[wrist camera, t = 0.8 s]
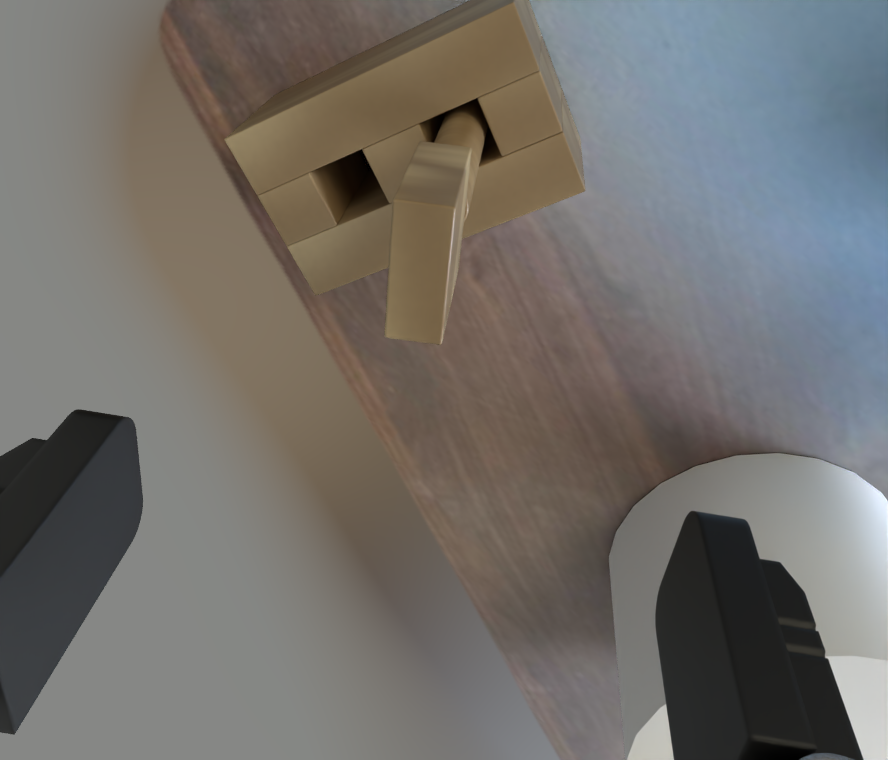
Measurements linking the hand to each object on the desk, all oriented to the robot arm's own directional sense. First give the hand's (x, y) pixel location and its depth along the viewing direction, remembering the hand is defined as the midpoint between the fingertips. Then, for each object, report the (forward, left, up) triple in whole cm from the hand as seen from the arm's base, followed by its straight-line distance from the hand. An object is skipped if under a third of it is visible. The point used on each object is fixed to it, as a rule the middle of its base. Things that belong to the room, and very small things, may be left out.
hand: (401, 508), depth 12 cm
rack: (+4, -2, -29) cm, 30 cm away
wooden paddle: (+2, -1, -29) cm, 29 cm away
